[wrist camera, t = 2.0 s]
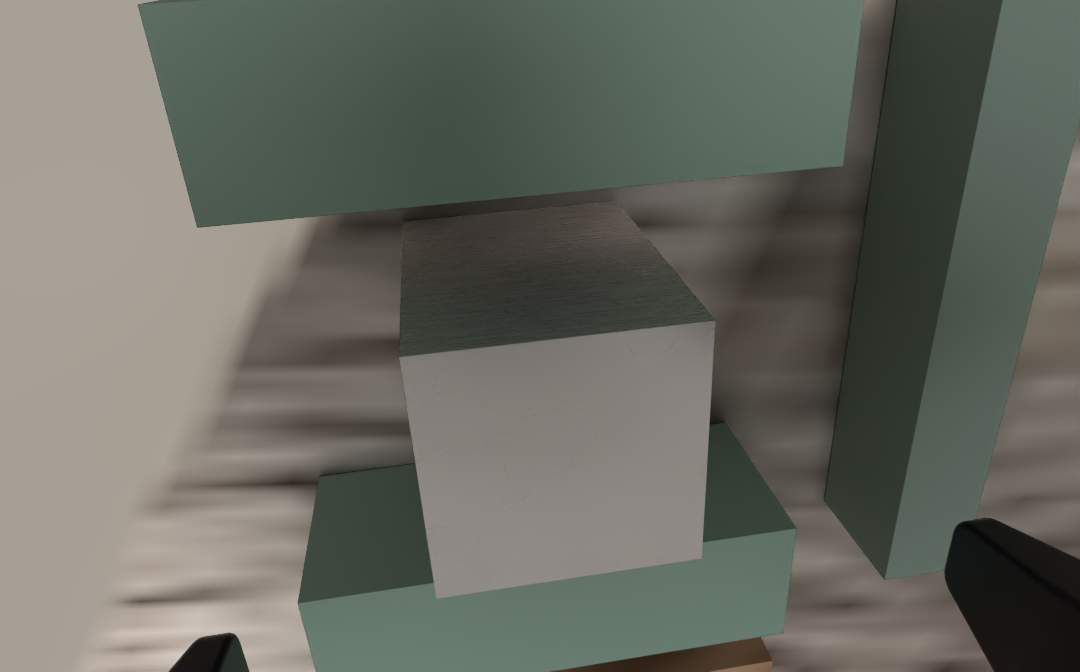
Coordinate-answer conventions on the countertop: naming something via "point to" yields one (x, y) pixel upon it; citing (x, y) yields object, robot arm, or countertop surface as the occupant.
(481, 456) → the steel block
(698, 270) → the countertop surface
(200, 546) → the countertop surface
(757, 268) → the countertop surface
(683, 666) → the copper plate
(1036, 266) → the vise
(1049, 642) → the robot arm
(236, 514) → the countertop surface
